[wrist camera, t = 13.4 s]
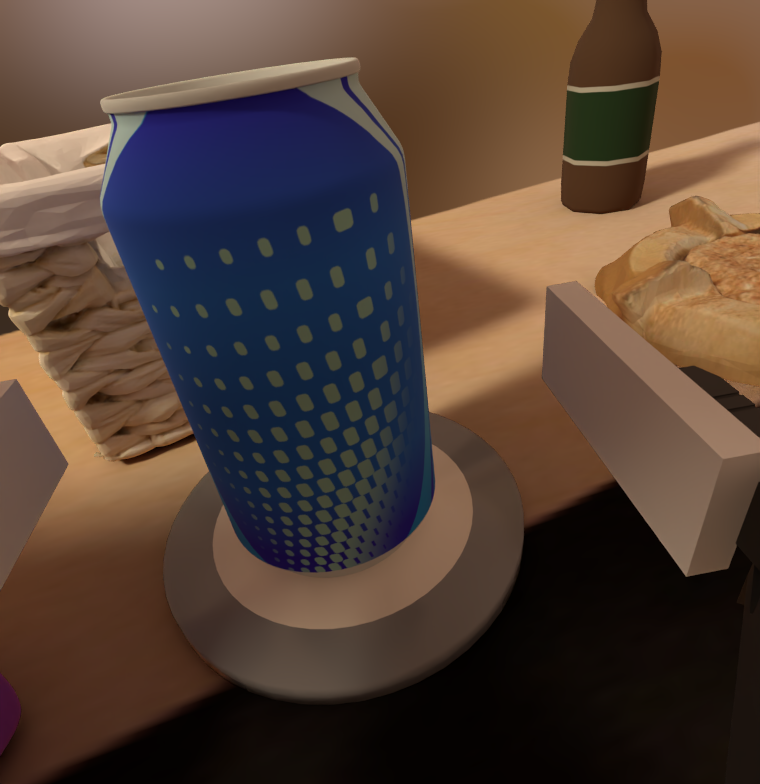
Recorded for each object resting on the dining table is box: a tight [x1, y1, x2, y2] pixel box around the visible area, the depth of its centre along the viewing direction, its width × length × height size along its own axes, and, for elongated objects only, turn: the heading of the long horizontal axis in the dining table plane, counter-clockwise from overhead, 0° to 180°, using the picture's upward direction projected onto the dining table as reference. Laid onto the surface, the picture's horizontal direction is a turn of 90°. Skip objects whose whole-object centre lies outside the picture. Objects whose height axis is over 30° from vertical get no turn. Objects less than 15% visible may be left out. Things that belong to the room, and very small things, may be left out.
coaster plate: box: [163, 412, 524, 705], centre depth 23 cm, size 15×15×1 cm
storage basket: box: [0, 124, 194, 461], centre depth 35 cm, size 24×16×15 cm
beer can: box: [100, 58, 435, 578], centre depth 18 cm, size 8×8×16 cm
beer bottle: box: [561, 0, 662, 214], centre depth 48 cm, size 8×8×24 cm
